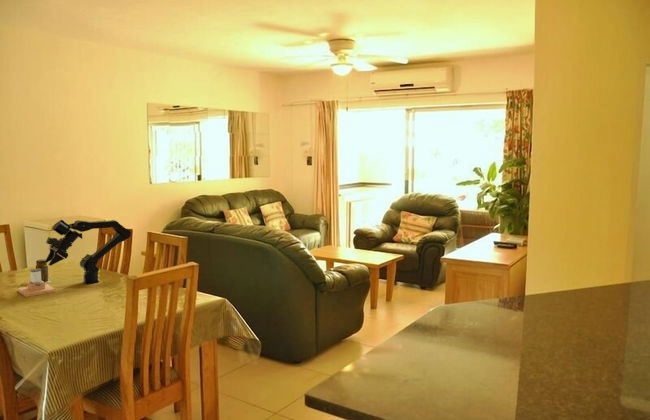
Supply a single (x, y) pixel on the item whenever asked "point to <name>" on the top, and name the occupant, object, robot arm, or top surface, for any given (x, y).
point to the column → (35, 276)
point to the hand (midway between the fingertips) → (47, 263)
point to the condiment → (43, 270)
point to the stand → (36, 289)
